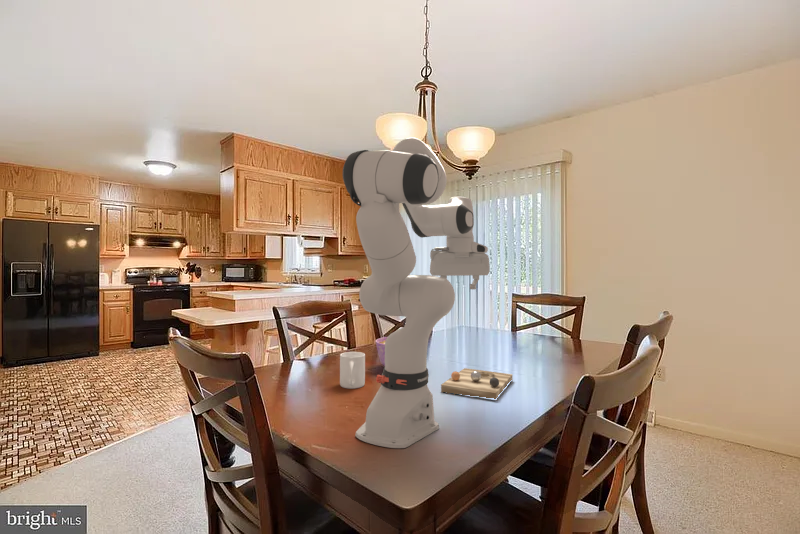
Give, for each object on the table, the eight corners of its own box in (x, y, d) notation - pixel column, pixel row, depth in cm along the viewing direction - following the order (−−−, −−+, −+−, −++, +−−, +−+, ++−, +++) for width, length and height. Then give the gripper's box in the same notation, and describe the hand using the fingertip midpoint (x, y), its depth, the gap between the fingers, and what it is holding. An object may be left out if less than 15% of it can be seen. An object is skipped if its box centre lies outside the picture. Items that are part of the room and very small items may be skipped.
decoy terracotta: (458, 382, 133) (458, 373, 133) (449, 380, 135) (449, 371, 135) (461, 379, 136) (461, 371, 136) (452, 378, 137) (453, 369, 137)
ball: (479, 383, 132) (479, 373, 132) (469, 382, 133) (469, 371, 133) (482, 380, 135) (482, 370, 135) (472, 379, 136) (472, 369, 136)
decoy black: (497, 388, 126) (497, 379, 126) (488, 387, 127) (488, 378, 127) (500, 386, 129) (500, 377, 129) (490, 384, 130) (491, 375, 130)
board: (495, 401, 122) (495, 393, 122) (441, 392, 130) (441, 384, 130) (512, 381, 143) (512, 374, 143) (464, 374, 151) (464, 368, 151)
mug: (337, 392, 129) (337, 359, 129) (341, 381, 141) (341, 351, 141) (363, 392, 130) (363, 359, 130) (365, 381, 142) (365, 351, 142)
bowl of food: (426, 364, 168) (426, 336, 167) (424, 377, 148) (424, 346, 148) (379, 362, 169) (379, 335, 169) (371, 375, 150) (371, 344, 150)
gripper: (434, 246, 124) (434, 290, 124) (492, 247, 130) (492, 289, 130) (426, 247, 130) (426, 289, 130) (482, 248, 136) (482, 288, 136)
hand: (459, 289), depth 130 cm, fingers open, 8 cm apart
